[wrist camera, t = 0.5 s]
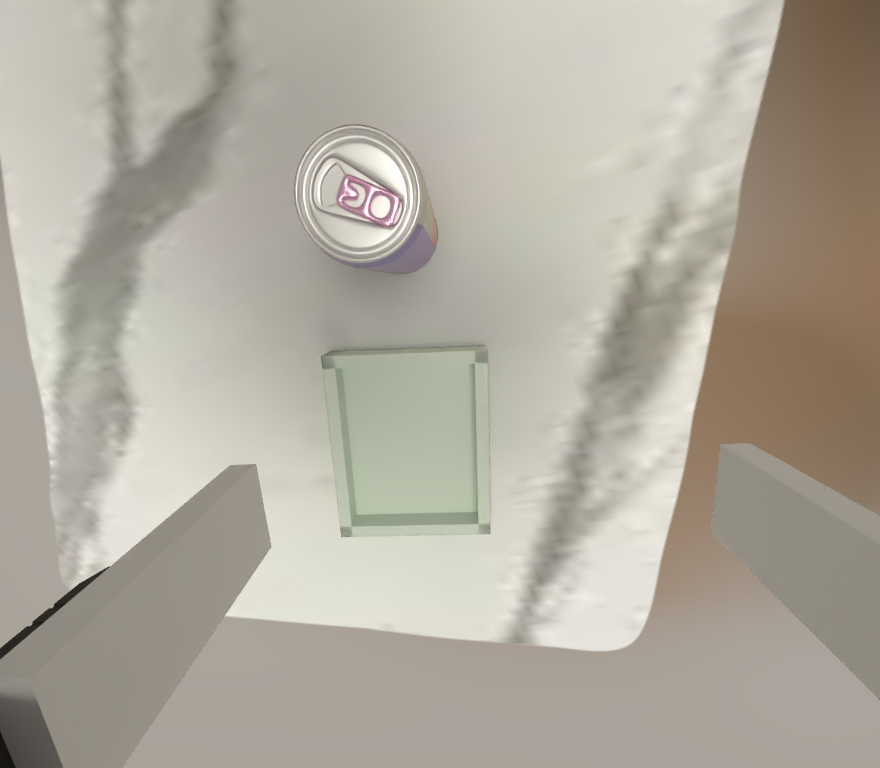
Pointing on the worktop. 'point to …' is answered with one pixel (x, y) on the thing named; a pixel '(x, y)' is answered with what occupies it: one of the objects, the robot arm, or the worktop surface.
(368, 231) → the beverage can
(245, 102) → the worktop surface
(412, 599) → the worktop surface
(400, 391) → the tray
